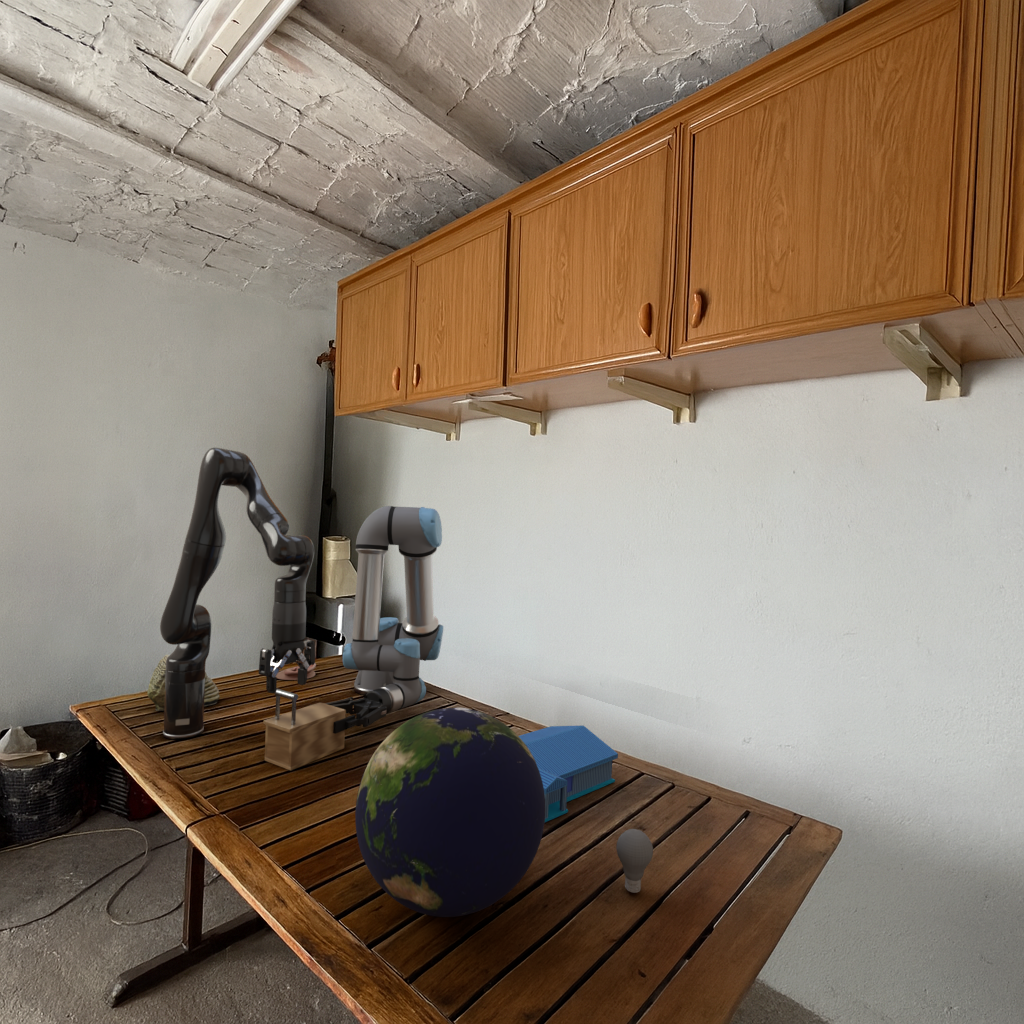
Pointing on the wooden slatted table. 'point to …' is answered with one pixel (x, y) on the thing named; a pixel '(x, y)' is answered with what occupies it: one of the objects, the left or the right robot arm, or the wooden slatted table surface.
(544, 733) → the model building
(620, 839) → the light bulb
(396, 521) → the right robot arm
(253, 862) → the wooden slatted table surface
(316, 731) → the chest
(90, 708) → the wooden slatted table surface
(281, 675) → the anatomical model
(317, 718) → the lid
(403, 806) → the globe
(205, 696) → the fossil
